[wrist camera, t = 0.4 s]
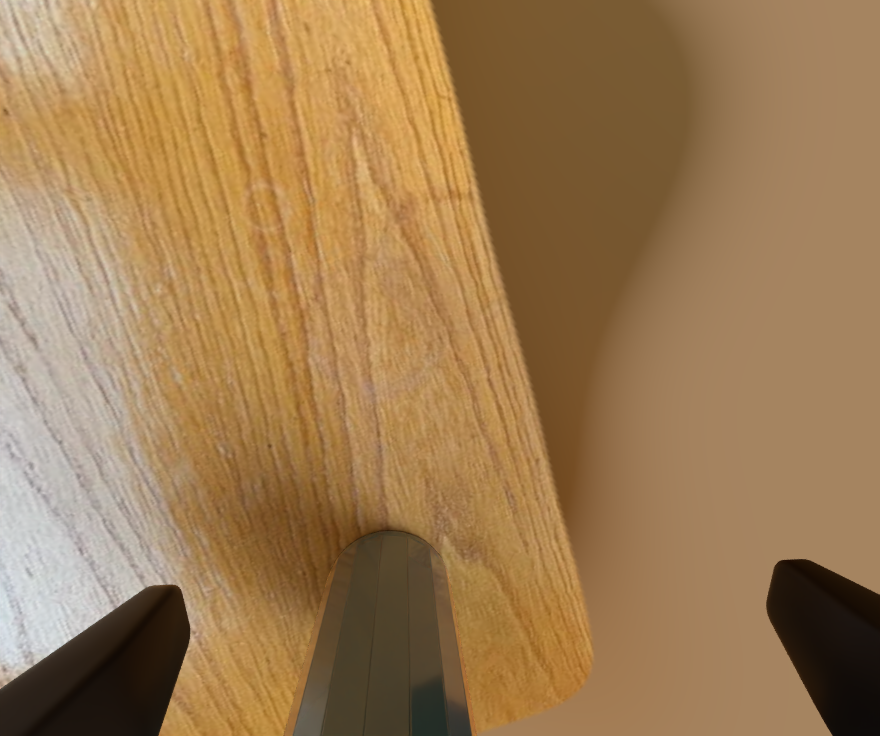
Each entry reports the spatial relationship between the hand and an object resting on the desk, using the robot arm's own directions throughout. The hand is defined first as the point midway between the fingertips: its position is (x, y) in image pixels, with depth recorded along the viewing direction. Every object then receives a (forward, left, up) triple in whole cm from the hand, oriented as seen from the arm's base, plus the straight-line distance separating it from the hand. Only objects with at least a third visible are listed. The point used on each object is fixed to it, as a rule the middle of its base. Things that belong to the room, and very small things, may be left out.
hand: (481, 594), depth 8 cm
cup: (-6, -5, -14) cm, 16 cm away
